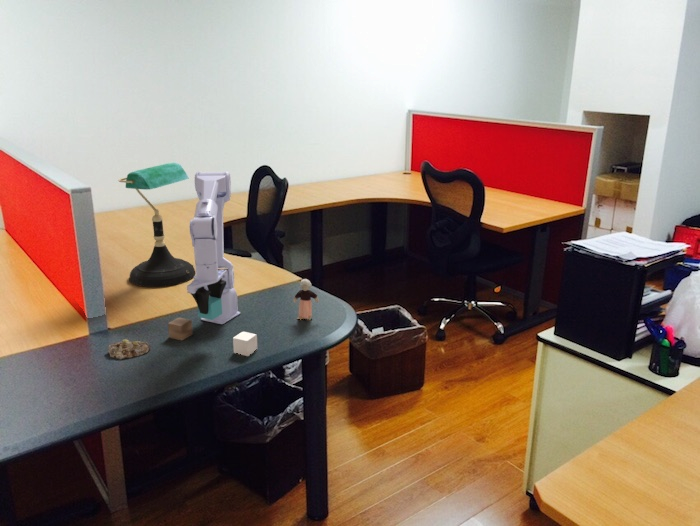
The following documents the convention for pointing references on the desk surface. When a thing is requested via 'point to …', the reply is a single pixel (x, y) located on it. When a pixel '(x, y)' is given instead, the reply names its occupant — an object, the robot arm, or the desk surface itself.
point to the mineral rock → (128, 349)
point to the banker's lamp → (158, 231)
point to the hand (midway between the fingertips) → (209, 309)
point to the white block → (245, 343)
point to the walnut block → (180, 328)
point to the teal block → (212, 309)
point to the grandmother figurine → (305, 300)
